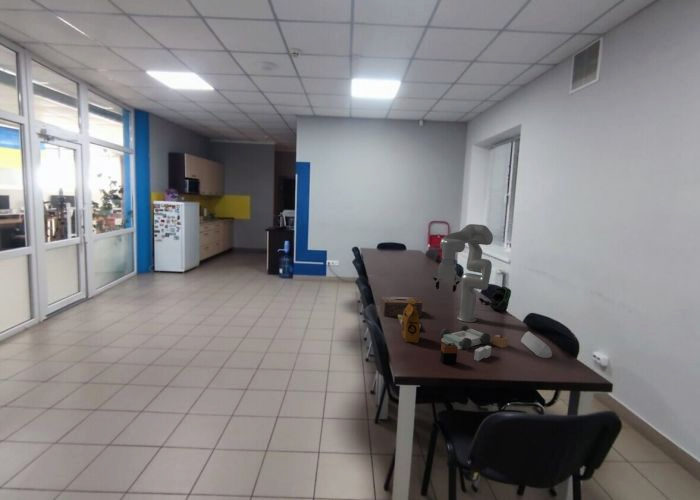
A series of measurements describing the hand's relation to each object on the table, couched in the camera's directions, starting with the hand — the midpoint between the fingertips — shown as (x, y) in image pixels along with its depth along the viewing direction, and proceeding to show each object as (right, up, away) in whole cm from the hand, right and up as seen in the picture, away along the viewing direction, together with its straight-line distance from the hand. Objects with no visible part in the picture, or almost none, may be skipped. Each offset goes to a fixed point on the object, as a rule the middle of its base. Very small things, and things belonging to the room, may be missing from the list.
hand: (445, 290), depth 220 cm
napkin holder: (+12, -32, -27) cm, 44 cm away
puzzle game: (-19, -24, +17) cm, 35 cm away
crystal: (+46, -32, -13) cm, 57 cm away
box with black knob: (+28, -30, -9) cm, 42 cm away
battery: (-8, -32, -35) cm, 48 cm away
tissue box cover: (-21, -21, +41) cm, 51 cm away
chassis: (+9, -29, -6) cm, 31 cm away
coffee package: (-22, -27, -6) cm, 35 cm away
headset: (+52, -21, +62) cm, 84 cm away
